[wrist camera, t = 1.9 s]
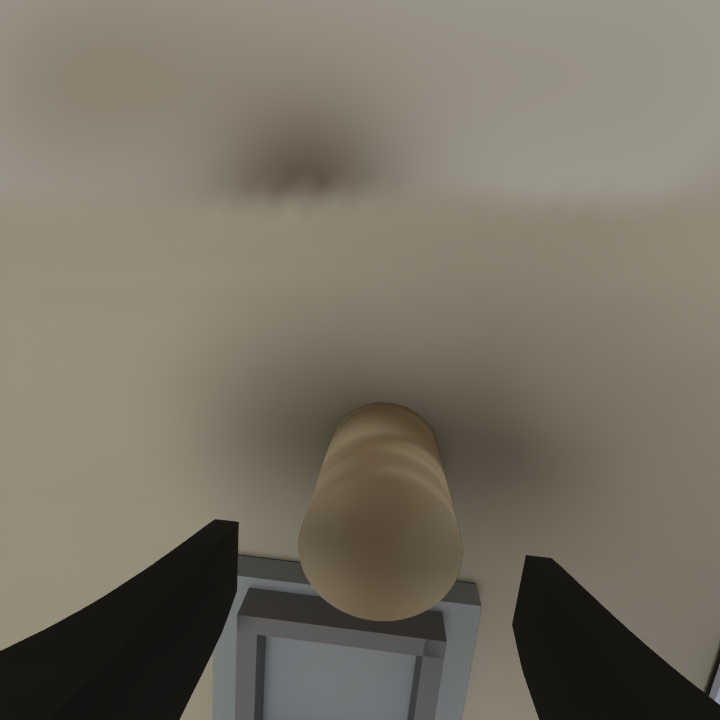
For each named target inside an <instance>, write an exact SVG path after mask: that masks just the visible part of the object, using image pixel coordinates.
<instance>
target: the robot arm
mask: <svg viewBox="0 0 720 720" xmlns="http://www.w3.org/2000/svg"><path fill="white" fill-rule="evenodd" d="M238 528H239V522H235V521H226V520H217V519H215V520H213V521H212V522H211V523H209V524H208V525H206V526H205V527H204V528H202V529H201V530H200V531H198V532H197V533H195V534H194V535H193V536H191V537H190V538H189V539H187V540H186V541H185V542H183V543H182V544H181V545H179V546H178V547H176V548H175V549H174V550H172V551H171V552H169V553H168V554H167V555H165V556H164V557H162V558H161V559H160V560H158V561H157V562H155V563H154V564H153V565H151V566H150V567H148V568H147V569H145V570H144V571H142V572H141V573H139V574H138V575H136V576H135V577H133V578H131V579H130V580H128V581H127V582H125V583H124V584H122V585H121V586H119V587H118V588H116V589H115V590H113V591H112V592H110V593H108V594H107V595H105V596H104V597H102V598H100V599H99V600H97V601H95V602H94V603H92V604H90V605H88V606H87V607H85V608H83V609H82V610H80V611H78V612H76V613H74V614H72V615H71V616H69V617H67V618H65V619H63V620H62V621H60V622H58V623H56V624H54V625H52V626H50V627H49V628H47V629H45V630H43V631H41V632H39V633H37V634H35V635H32V636H30V637H28V638H26V639H24V640H22V641H20V642H18V643H16V644H14V645H12V646H10V647H8V648H6V649H4V650H1V651H0V720H180V718H181V715H182V713H183V711H184V709H185V707H186V705H187V703H188V701H189V699H190V697H191V695H192V693H193V691H194V689H195V687H196V685H197V683H198V681H199V679H200V677H201V675H202V673H203V671H204V669H205V667H206V665H207V663H208V661H209V659H210V657H211V655H212V653H213V650H214V648H215V646H216V644H217V642H218V640H219V638H220V636H221V634H222V632H223V629H224V626H225V623H226V621H227V618H228V615H229V613H230V610H231V607H232V604H233V601H234V598H235V596H236V593H237V578H238ZM512 626H513V630H514V635H515V640H516V644H517V649H518V653H519V657H520V662H521V666H522V670H523V673H524V676H525V679H526V682H527V685H528V688H529V691H530V694H531V697H532V700H533V703H534V706H535V709H536V712H537V714H538V717H539V720H720V665H719V668H718V671H717V674H716V677H715V679H714V682H713V685H712V688H711V691H710V694H709V696H708V695H706V694H705V693H704V692H703V691H701V690H700V689H699V688H697V687H696V686H695V685H693V684H692V683H691V682H690V681H688V680H687V679H686V678H685V677H683V676H682V675H681V674H680V673H679V672H677V671H676V670H675V669H674V668H673V667H671V666H670V665H669V664H668V663H667V662H665V661H664V660H663V659H662V658H661V657H660V656H658V655H657V654H656V653H655V652H654V651H652V650H651V649H650V648H649V647H648V646H647V645H645V644H644V643H643V642H642V641H641V640H640V639H639V638H637V637H636V636H635V635H634V634H633V633H632V632H631V631H630V630H628V629H627V628H626V627H625V626H624V625H623V624H622V623H621V622H620V621H619V620H617V619H616V618H615V617H614V616H613V615H612V614H611V613H610V612H609V611H608V610H607V609H606V608H604V607H603V606H602V605H601V604H600V603H599V602H598V601H597V600H596V599H595V598H594V597H593V596H592V595H591V594H590V593H589V592H587V591H586V590H585V589H584V588H583V587H582V586H581V585H580V584H579V583H578V582H577V581H576V580H575V579H574V578H573V577H572V576H571V575H569V574H568V573H567V572H566V571H565V570H564V569H563V568H562V567H561V566H560V565H559V564H557V563H556V562H555V561H554V560H553V559H552V558H545V557H537V556H528V555H526V558H525V563H524V568H523V573H522V578H521V583H520V588H519V593H518V598H517V603H516V608H515V613H514V618H513V623H512Z"/></svg>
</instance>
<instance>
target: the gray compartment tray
mask: <svg viewBox="0 0 720 720" xmlns="http://www.w3.org/2000/svg"><path fill="white" fill-rule="evenodd" d="M480 612H481V603H480V599H479V595H478V591H477V588H476V584H470V583H461V582H455V583H454V585H453V586H452V588H451V589H450V591H449V592H448V593H447V594H446V596H445V597H444V598H443V599H441V600H440V601H439V602H438V603H437V604H436V605H434V606H433V607H431V608H430V609H428V610H426V611H424V612H423V613H420V614H418V615H415V616H413V617H409V618H406V619H401V620H395V621H373V620H367V619H362V618H358V617H355V616H352V615H349V614H347V613H345V612H342V611H341V610H339V609H337V608H335V607H334V606H332V605H331V604H329V603H328V602H327V601H325V600H324V599H323V598H322V597H321V596H320V595H319V594H318V593H317V592H316V591H315V589H314V588H313V587H312V586H311V584H310V583H309V581H308V579H307V578H306V576H305V573H304V571H303V569H302V566H301V563H298V562H290V561H282V560H274V559H266V558H257V557H249V556H241V555H238V578H237V593H236V596H235V598H234V601H233V604H232V607H231V610H230V613H229V615H228V618H227V621H226V623H225V626H224V629H223V632H222V634H221V636H220V638H219V640H218V642H217V644H216V646H215V648H214V650H213V720H462V714H463V709H464V703H465V697H466V691H467V686H468V680H469V674H470V669H471V663H472V657H473V652H474V646H475V640H476V634H477V629H478V623H479V617H480Z"/></svg>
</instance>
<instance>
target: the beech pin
mask: <svg viewBox="0 0 720 720" xmlns="http://www.w3.org/2000/svg"><path fill="white" fill-rule="evenodd" d="M298 552H299V558H300V563H301V566H302V569H303V571H304V573H305V576H306V578H307V579H308V581H309V583H310V584H311V586H312V587H313V588H314V589H315V591H316V592H317V593H318V594H319V595H320V596H321V597H322V598H323V599H324V600H325V601H327V602H328V603H329V604H331V605H332V606H334V607H335V608H337V609H339V610H341V611H342V612H345V613H347V614H349V615H352V616H355V617H358V618H362V619H367V620H373V621H395V620H401V619H406V618H409V617H413V616H415V615H418V614H420V613H423V612H424V611H426V610H428V609H430V608H431V607H433V606H434V605H436V604H437V603H438V602H439V601H440V600H441V599H443V598H444V597H445V596H446V594H447V593H448V592H449V591H450V589H451V588H452V586H453V585H454V583H455V581H456V579H457V577H458V574H459V572H460V568H461V564H462V555H463V550H462V541H461V536H460V532H459V528H458V524H457V520H456V516H455V513H454V509H453V505H452V501H451V497H450V493H449V489H448V485H447V481H446V477H445V473H444V470H443V466H442V462H441V458H440V454H439V450H438V446H437V442H436V439H435V436H434V434H433V432H432V430H431V428H430V427H429V426H428V424H427V423H426V422H425V421H424V420H423V419H422V418H421V417H420V416H419V415H418V414H416V413H415V412H413V411H412V410H410V409H408V408H406V407H403V406H400V405H397V404H391V403H373V404H369V405H365V406H362V407H360V408H358V409H356V410H354V411H352V412H351V413H349V414H348V415H347V416H346V417H345V418H344V419H343V420H342V421H341V422H340V423H339V424H338V426H337V428H336V429H335V431H334V433H333V436H332V438H331V441H330V444H329V447H328V450H327V453H326V456H325V459H324V462H323V465H322V468H321V471H320V474H319V476H318V479H317V482H316V485H315V488H314V491H313V494H312V497H311V500H310V503H309V506H308V509H307V511H306V514H305V517H304V520H303V523H302V526H301V530H300V534H299V541H298Z"/></svg>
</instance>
